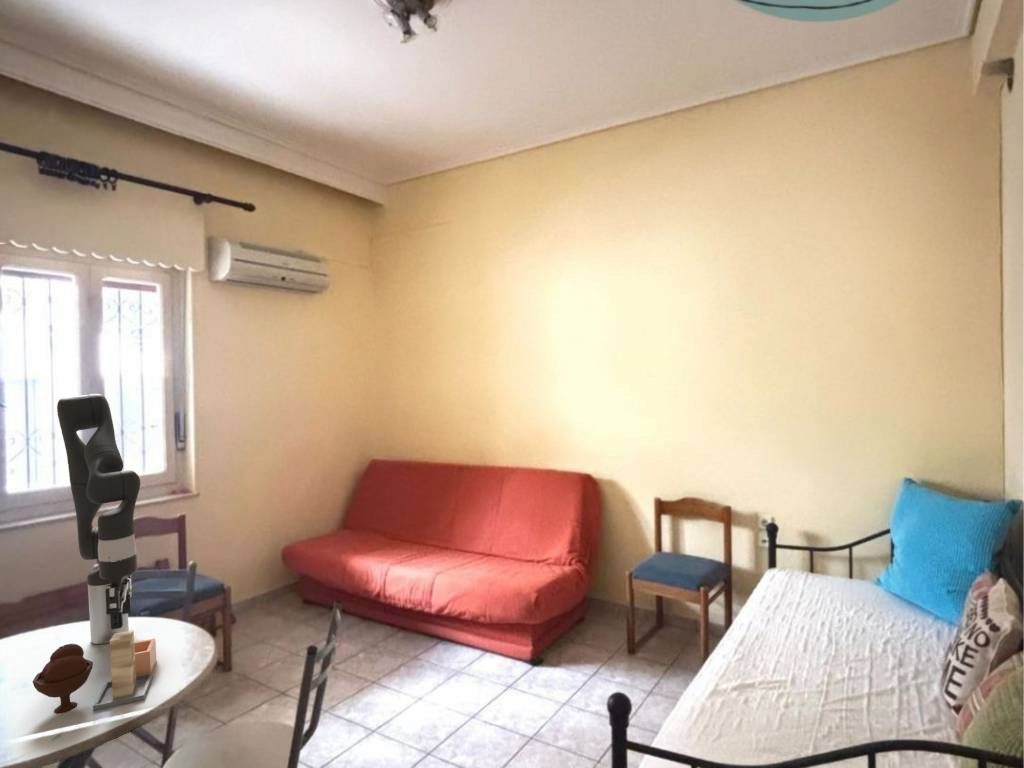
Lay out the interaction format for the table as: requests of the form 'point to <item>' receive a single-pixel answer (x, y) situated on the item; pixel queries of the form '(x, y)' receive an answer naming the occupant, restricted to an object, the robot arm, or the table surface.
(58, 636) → the table surface
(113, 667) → the birch peg
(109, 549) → the robot arm
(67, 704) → the ice cream bowl
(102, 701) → the grey square tray
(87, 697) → the table surface
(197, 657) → the table surface
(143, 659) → the orange open box
